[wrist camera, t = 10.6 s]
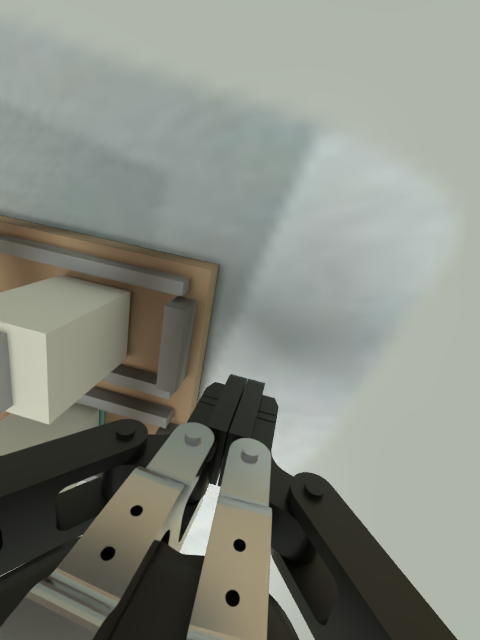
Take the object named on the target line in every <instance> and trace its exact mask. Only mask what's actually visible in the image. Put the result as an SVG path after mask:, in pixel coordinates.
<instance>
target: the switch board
mask: <svg viewBox="0 0 480 640" xmlns="http://www.w3.org/2000/svg"><path fill="white" fill-rule="evenodd" d="M218 268H219V265H218V264H214V263H209V262H205V261H200V260H196V259H192V258H187V257H183V256H178V255H174V254H169V253H165V252H160V251H156V250H152V249H147V248H143V247H138V246H134V245H129V244H125V243H121V242H116V241H112V240H107V239H103V238H98V237H94V236H89V235H85V234H81V233H76V232H72V231H67V230H63V229H58V228H54V227H50V226H45V225H41V224H36V223H32V222H27V221H23V220H18V219H14V218H10V217H5V216H1V215H0V293H1V292H4V291H8V290H11V289H14V288H18V287H21V286H25V285H28V284H32V283H35V282H38V281H42V280H45V279H49V278H52V277H55V276H59V275H64V276H68V277H73V278H77V279H81V280H85V281H89V282H93V283H97V284H101V285H105V286H110V287H114V288H118V289H122V290H126V291H130V292H131V294H130V310H129V326H128V342H127V357H126V360H124V361H123V362H122V363H121V364H120V365H119V366H117V367H116V368H115V369H114V370H113V371H112V372H110V373H109V374H108V375H107V376H106V377H104V378H103V379H102V380H101V381H100V382H99V383H97V384H96V385H95V386H94V387H93V388H92V389H90V390H89V391H88V392H87V393H86V394H85V395H83V396H82V397H81V398H80V399H79V400H77V401H76V403H79V404H82V405H86V406H89V407H93V408H96V409H99V426H100V425H103V424H106V423H110V422H113V421H116V420H120V419H134V420H138V421H140V422H142V423H143V424H144V425H145V426H146V427H147V430H148V434H156V435H166V434H172V432H173V431H174V430H175V429H176V428H177V427H178V426H179V425H181V424H184V423H187V421H188V419H189V418H190V416H191V414H192V412H193V411H194V409H195V407H196V405H197V400H198V393H199V387H200V381H201V375H202V368H203V362H204V356H205V349H206V343H207V337H208V331H209V324H210V318H211V312H212V306H213V299H214V293H215V287H216V281H217V274H218ZM9 414H11V413H9V412H6V411H4V412H3V413H1V414H0V421H1V420H2V419H4V418H5V417H7V416H8V415H9ZM98 477H101V473H100V474H97V475H95V476H92V477H90V478H87V479H85V480H84V481H87V482H88V481H91V480H93V479H96V478H98Z"/></svg>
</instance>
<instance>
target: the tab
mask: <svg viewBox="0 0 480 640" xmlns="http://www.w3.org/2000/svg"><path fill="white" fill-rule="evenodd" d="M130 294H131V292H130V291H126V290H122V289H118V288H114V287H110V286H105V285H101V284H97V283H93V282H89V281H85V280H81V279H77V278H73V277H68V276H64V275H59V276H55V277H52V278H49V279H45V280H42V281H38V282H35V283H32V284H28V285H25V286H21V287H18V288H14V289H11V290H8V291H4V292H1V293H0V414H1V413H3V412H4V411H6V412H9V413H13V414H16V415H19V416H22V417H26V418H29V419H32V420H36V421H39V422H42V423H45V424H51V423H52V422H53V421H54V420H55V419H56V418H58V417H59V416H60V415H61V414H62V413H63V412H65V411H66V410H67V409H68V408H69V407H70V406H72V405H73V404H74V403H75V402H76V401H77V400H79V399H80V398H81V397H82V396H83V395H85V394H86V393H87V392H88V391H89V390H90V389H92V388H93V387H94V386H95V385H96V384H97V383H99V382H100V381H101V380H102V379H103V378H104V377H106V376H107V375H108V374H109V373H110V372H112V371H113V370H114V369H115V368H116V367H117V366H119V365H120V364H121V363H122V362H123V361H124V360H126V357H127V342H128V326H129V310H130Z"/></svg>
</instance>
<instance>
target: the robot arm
mask: <svg viewBox="0 0 480 640" xmlns="http://www.w3.org/2000/svg"><path fill="white" fill-rule="evenodd" d="M246 383H247V384H246ZM264 386H265V383H262V382H258V381H255V380H251V379H248V381H247V378H243V377H240V376H236V375H232V374H230V376H229V378H228V380H227V382H226V384H225V385H224V384H220V383H216V382H215V383H213V384H211V385H210V386H208V387H207V388H206V390H205V391H204V393H203V395H202V397H201V398H200V400H199V402H198V404H197V405H196V407H195V409H194V411H193V412H192V414H191V416H190V418H189V419H188V421H187V423H184V424H181V425H179V426H178V427H177V428H176V429H175V430H174V431H173V432H172V434H166V435H156V434H148V430H147V427H146V426H145V425H144V424H143V423H142V422H140V421H138V420H134V419H120V420H116V421H113V422H110V423H106V424H103V425H100V426H97V427H93V428H90V429H87V430H84V431H80V432H77V433H74V434H71V435H67V436H64V437H61V438H58V439H54V440H51V441H48V442H45V443H41V444H38V445H35V446H32V447H28V448H25V449H22V450H19V451H15V452H12V453H9V454H6V455H2V456H0V576H1V575H3V574H5V573H6V574H5V575H3V576H1V577H0V640H299V638H298V636H297V634H296V632H295V630H294V628H293V626H292V624H291V622H290V620H289V619H288V617H287V615H286V614H285V612H284V611H283V609H282V608H281V607H280V605H279V604H278V603H277V601H276V600H275V599H274V598H273V597H272V596H271V595H270V594H269V575H270V552H271V555H272V558H273V560H274V562H275V564H276V566H277V568H278V570H279V572H280V574H281V575H282V577H283V579H284V581H285V583H286V585H287V587H288V589H289V591H290V593H291V594H292V597H293V598H294V600H295V602H296V604H297V606H298V608H299V610H300V612H301V614H302V615H303V617H304V619H305V621H306V623H307V625H308V627H309V629H310V631H311V633H312V635H313V637H314V638H315V640H457V639H456V637H455V636H454V635H453V634H452V632H451V631H450V630H449V629H448V628H447V626H446V625H445V624H444V623H443V622H442V620H441V619H440V618H439V617H438V615H437V614H436V613H435V612H434V610H433V609H432V608H431V607H430V606H429V604H428V603H427V602H426V601H425V599H424V598H423V597H422V596H421V595H420V593H419V592H418V591H417V590H416V588H415V587H414V586H413V585H412V584H411V582H410V581H409V580H408V579H407V577H406V576H405V575H404V574H403V573H402V571H401V570H400V569H399V568H398V566H397V565H396V564H395V563H394V561H393V560H392V559H391V558H390V557H389V555H388V554H387V553H386V552H385V550H384V549H383V548H382V547H381V546H380V544H379V543H378V542H377V541H376V540H375V538H374V537H373V536H372V535H371V534H370V532H369V531H368V530H367V528H366V527H365V526H364V525H363V524H362V522H361V521H360V520H359V519H358V517H357V516H356V515H355V514H354V513H353V511H352V510H351V509H350V508H349V507H348V505H347V504H346V503H345V502H344V500H343V499H342V498H341V497H340V495H339V494H338V493H337V492H336V491H335V489H334V488H333V487H332V486H331V485H330V483H329V482H327V481H326V480H325V479H324V478H322V477H320V476H318V475H316V474H313V473H308V472H303V473H299V474H297V475H295V476H294V477H293V476H291V475H290V474H288V473H286V472H285V471H283V470H282V469H281V468H280V467H279V466H278V465H277V464H276V463H275V462H274V460H273V458H272V454H271V448H272V442H273V436H274V430H275V424H276V418H277V412H278V405H277V403H276V400H275V398H271V397H268V396H264V395H262V394H263V390H264ZM220 471H221V472H220ZM100 473H101V477H98V478H96V479H93V480H91V481H88V482H86V483H84V484H81V485H79V486H76V487H74V488H71V489H69V490H66V491H64V492H61V493H60V491H62V490H63V489H64V488H66V487H67V486H70V485H72V484H75V483H77V482H80V481H82V480H85V479H87V478H90V477H92V476H95V475H97V474H100ZM219 474H220V477H219ZM218 477H219V482H218V486H220V487H221V488H220V493H219V496H218V501H217V505H216V510H215V514H214V518H213V523H212V527H211V532H210V536H209V541H208V545H207V549H206V554H205V556H199V555H185V554H181V553H179V551H180V549H181V547H182V544H183V542H184V540H185V538H186V536H187V534H188V532H189V529H190V527H191V525H192V523H193V521H194V519H195V517H196V514H197V512H198V510H199V508H200V506H201V504H202V501H203V496H204V495H205V493H206V490H207V488H208V485H209V483H210V484H214V485H216V483H217V480H218ZM81 535H82V536H81ZM79 536H81V537H79ZM19 566H20V567H19ZM17 567H18V568H17ZM15 568H16V569H15ZM13 569H14V570H13ZM11 570H12V571H11ZM9 571H10V572H9ZM7 572H8V573H7Z"/></svg>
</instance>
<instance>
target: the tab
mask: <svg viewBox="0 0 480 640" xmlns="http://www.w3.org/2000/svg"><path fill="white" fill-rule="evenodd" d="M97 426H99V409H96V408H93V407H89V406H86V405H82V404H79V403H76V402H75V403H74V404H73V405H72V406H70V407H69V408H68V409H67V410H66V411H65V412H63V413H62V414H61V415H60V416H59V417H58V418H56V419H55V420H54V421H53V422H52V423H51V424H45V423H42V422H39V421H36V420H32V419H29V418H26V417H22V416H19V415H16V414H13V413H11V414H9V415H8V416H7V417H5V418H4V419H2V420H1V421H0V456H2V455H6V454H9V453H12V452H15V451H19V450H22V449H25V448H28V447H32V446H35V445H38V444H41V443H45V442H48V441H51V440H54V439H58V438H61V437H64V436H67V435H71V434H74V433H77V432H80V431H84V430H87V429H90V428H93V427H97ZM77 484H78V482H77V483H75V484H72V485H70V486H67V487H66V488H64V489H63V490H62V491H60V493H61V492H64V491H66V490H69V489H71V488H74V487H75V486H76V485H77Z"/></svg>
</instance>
